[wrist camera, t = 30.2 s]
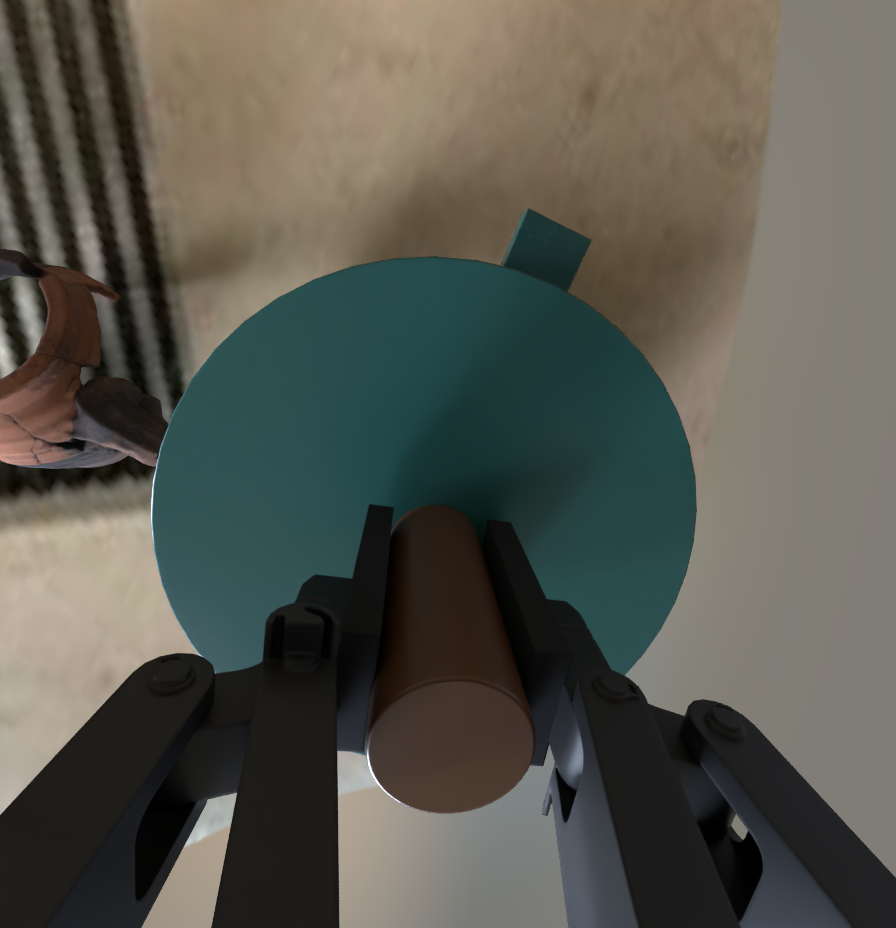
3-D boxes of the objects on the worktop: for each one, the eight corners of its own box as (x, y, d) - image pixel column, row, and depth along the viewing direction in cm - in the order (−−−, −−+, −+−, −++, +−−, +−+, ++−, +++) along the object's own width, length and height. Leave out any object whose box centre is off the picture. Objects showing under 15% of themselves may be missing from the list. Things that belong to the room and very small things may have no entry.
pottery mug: (-15, 442, 27) (-204, 380, 19) (85, 300, 29) (-47, 192, 21) (177, 534, 26) (62, 509, 18) (267, 380, 28) (199, 298, 20)
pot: (644, 322, 27) (778, 327, 17) (478, 647, 33) (507, 796, 23) (354, 182, 25) (313, 91, 14) (222, 562, 30) (125, 690, 20)
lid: (776, 397, 17) (1162, 486, 8) (544, 784, 21) (637, 1116, 12) (261, 150, 14) (7, -125, 5) (110, 659, 18) (-173, 982, 9)
